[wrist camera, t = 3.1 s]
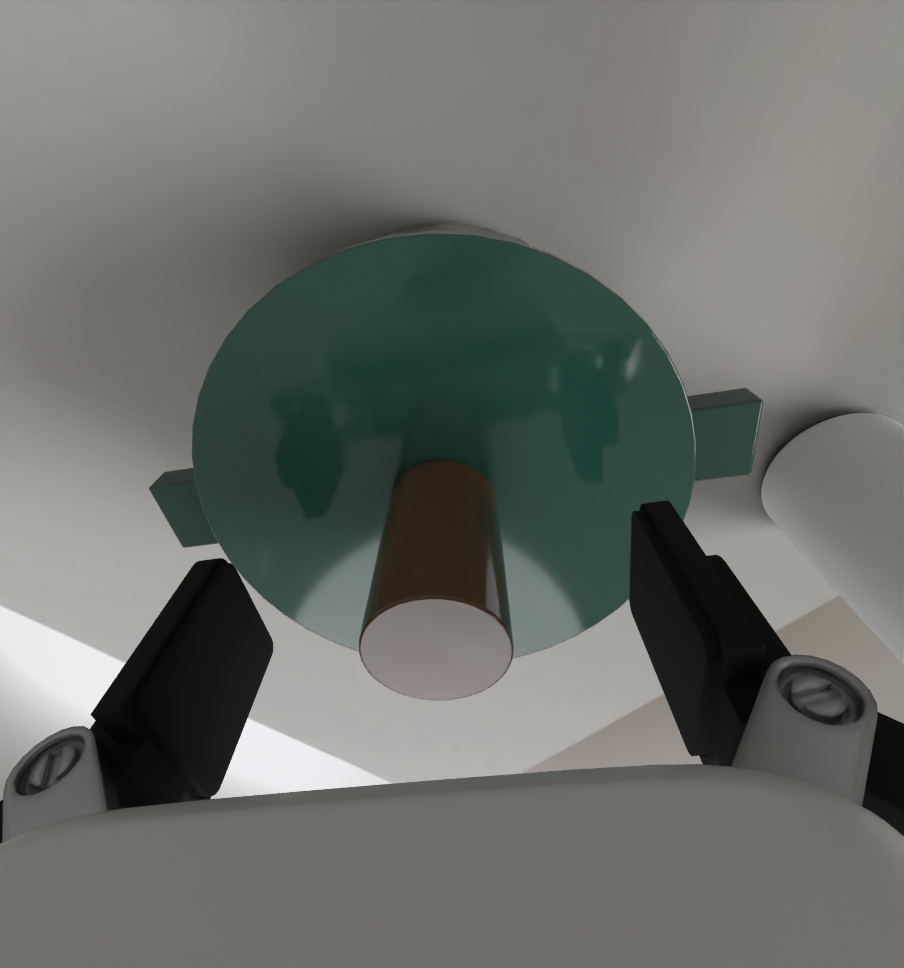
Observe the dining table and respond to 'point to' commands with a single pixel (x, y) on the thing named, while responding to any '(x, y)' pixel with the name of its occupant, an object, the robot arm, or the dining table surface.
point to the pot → (716, 416)
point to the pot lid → (440, 452)
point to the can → (848, 513)
